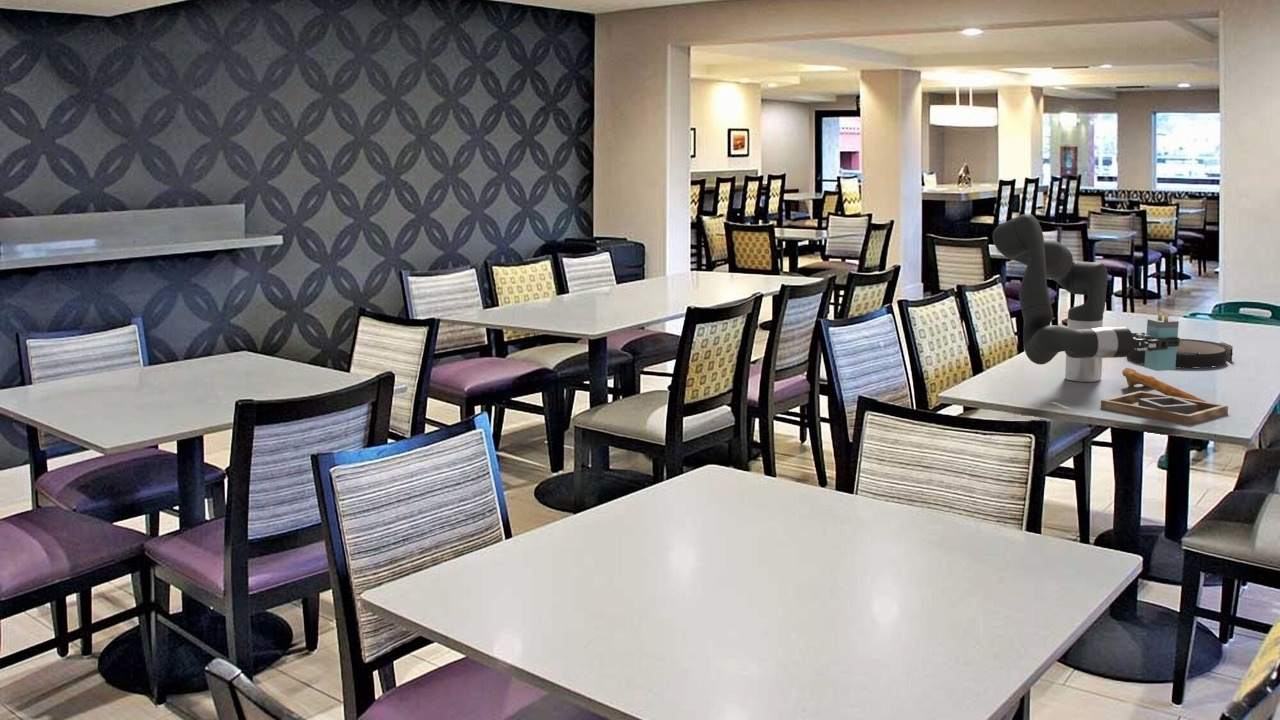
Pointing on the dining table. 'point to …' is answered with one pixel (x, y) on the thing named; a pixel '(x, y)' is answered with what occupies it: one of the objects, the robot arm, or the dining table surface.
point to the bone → (1155, 384)
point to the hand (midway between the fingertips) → (1171, 339)
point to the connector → (1161, 358)
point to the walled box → (1130, 405)
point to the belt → (1208, 354)
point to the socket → (1169, 404)
